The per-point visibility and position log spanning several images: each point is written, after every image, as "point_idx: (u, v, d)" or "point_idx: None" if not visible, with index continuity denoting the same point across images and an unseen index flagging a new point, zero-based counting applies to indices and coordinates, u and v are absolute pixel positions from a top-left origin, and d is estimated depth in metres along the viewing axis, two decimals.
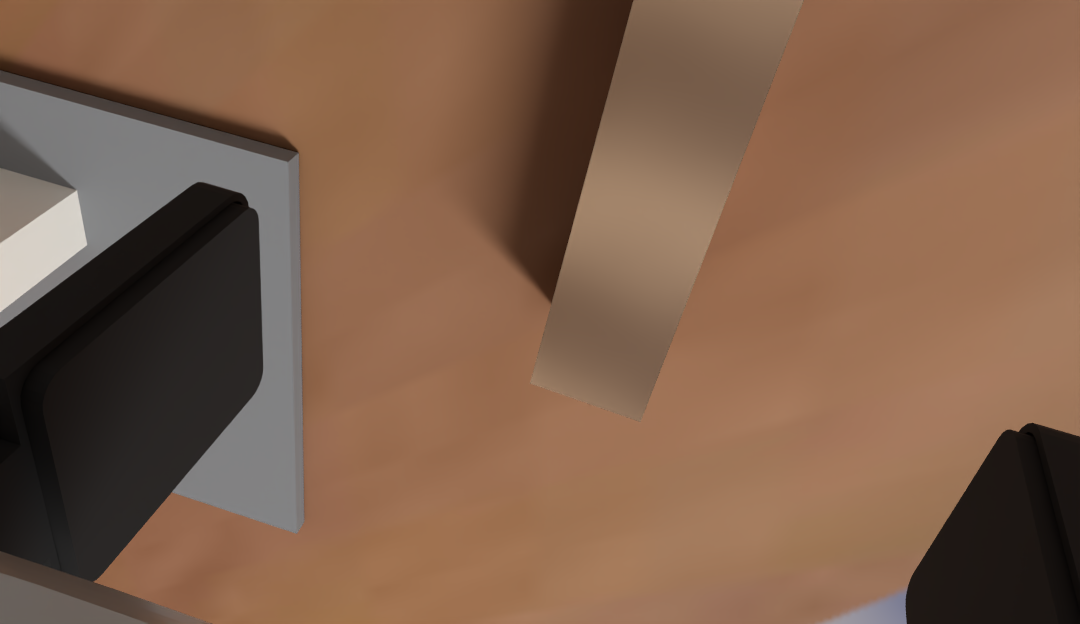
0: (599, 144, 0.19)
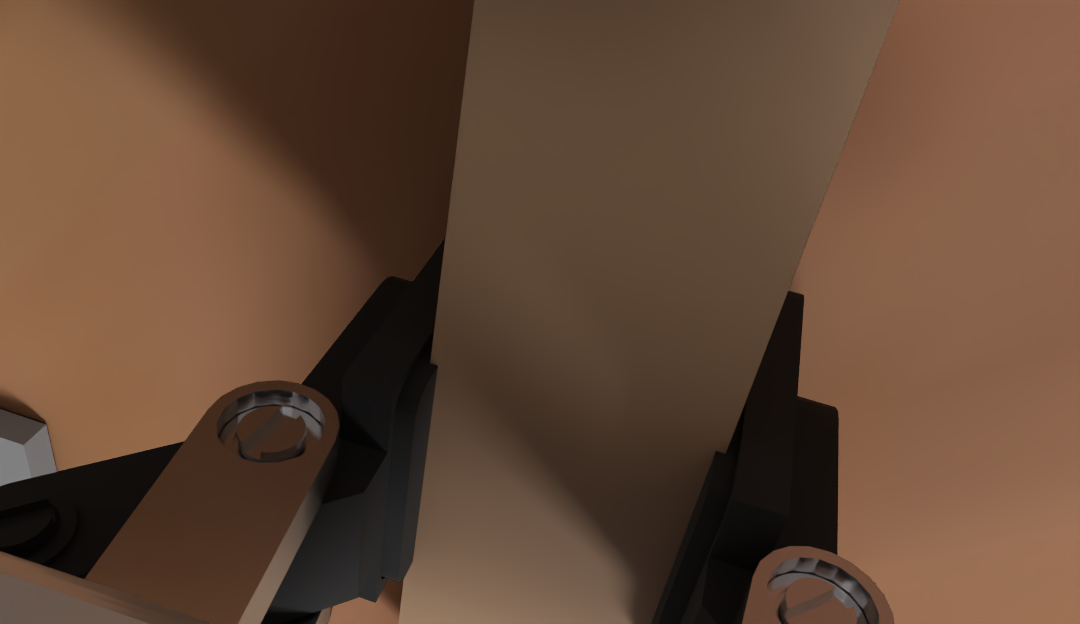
0: (411, 583, 0.11)
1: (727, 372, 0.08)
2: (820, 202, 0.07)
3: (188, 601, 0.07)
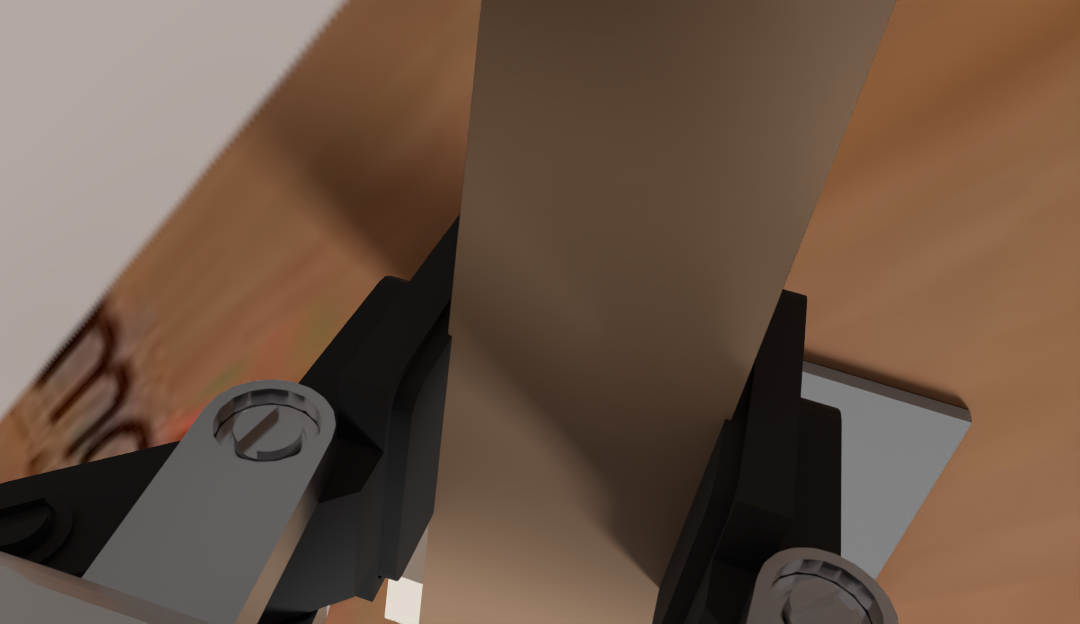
0: (433, 550, 0.12)
1: (721, 370, 0.09)
2: (807, 222, 0.08)
3: (183, 600, 0.07)
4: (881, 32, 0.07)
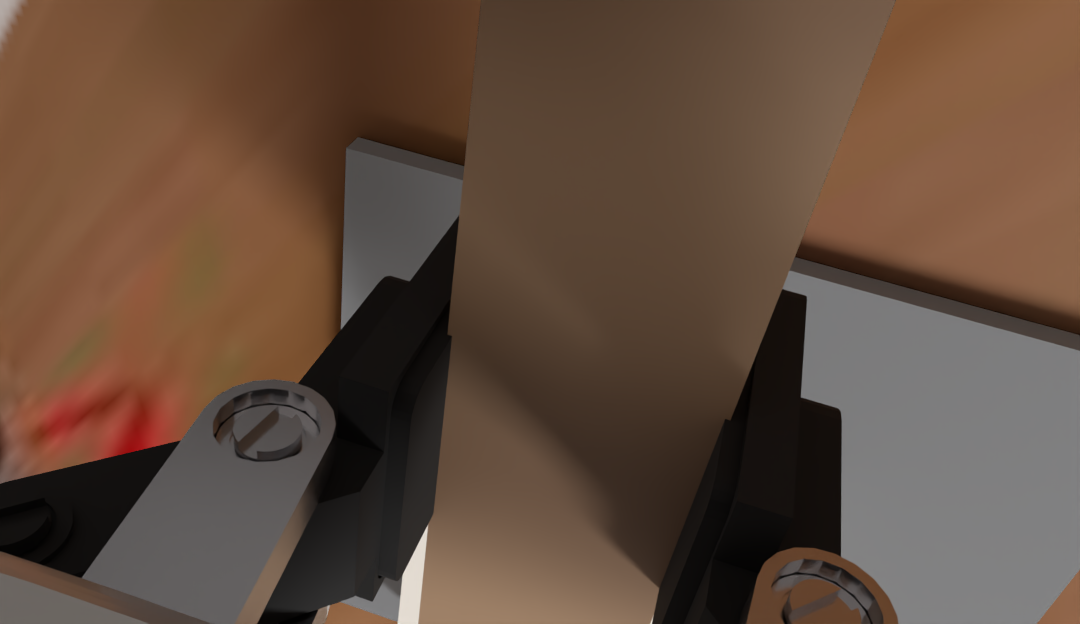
0: (433, 550, 0.12)
1: (720, 370, 0.09)
2: (806, 222, 0.08)
3: (183, 600, 0.07)
4: (881, 32, 0.07)
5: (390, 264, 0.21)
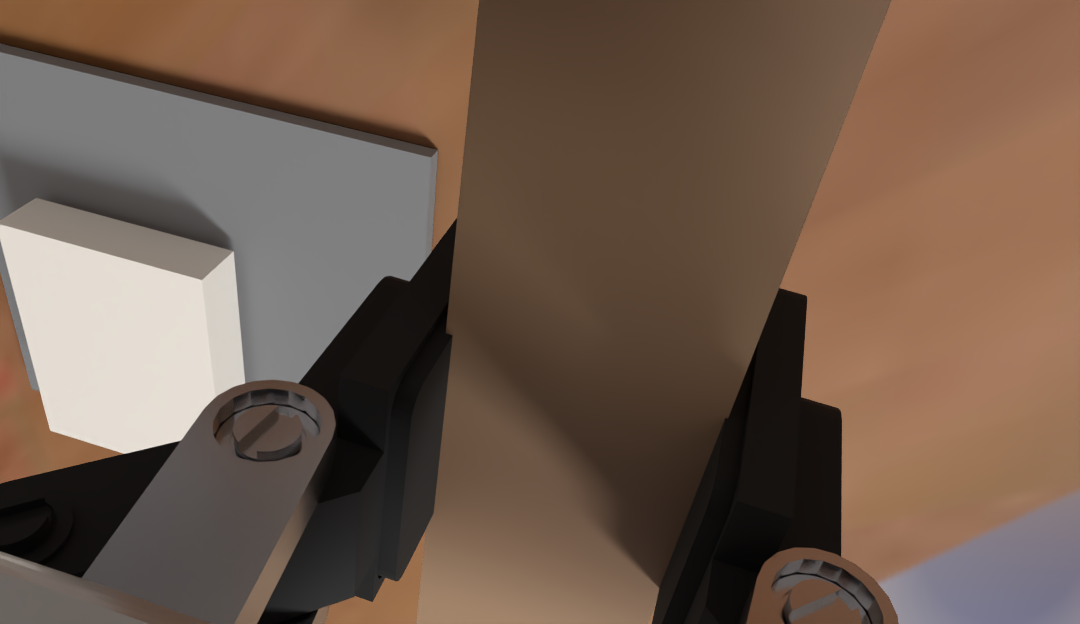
0: (431, 553, 0.12)
1: (716, 375, 0.09)
2: (800, 228, 0.08)
3: (183, 600, 0.07)
4: (874, 40, 0.07)
5: None
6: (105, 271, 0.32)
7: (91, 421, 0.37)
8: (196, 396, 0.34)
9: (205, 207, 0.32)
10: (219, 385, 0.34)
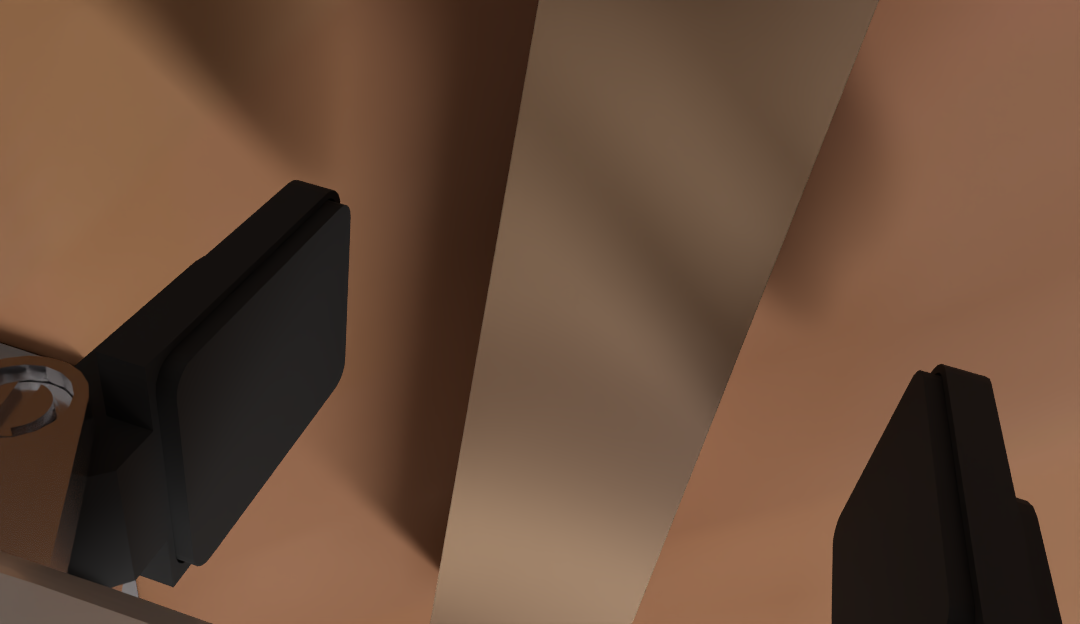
0: (463, 473, 0.13)
1: (742, 280, 0.10)
2: (824, 135, 0.09)
3: None
4: None
5: None
6: None
7: None
8: None
9: None
10: None
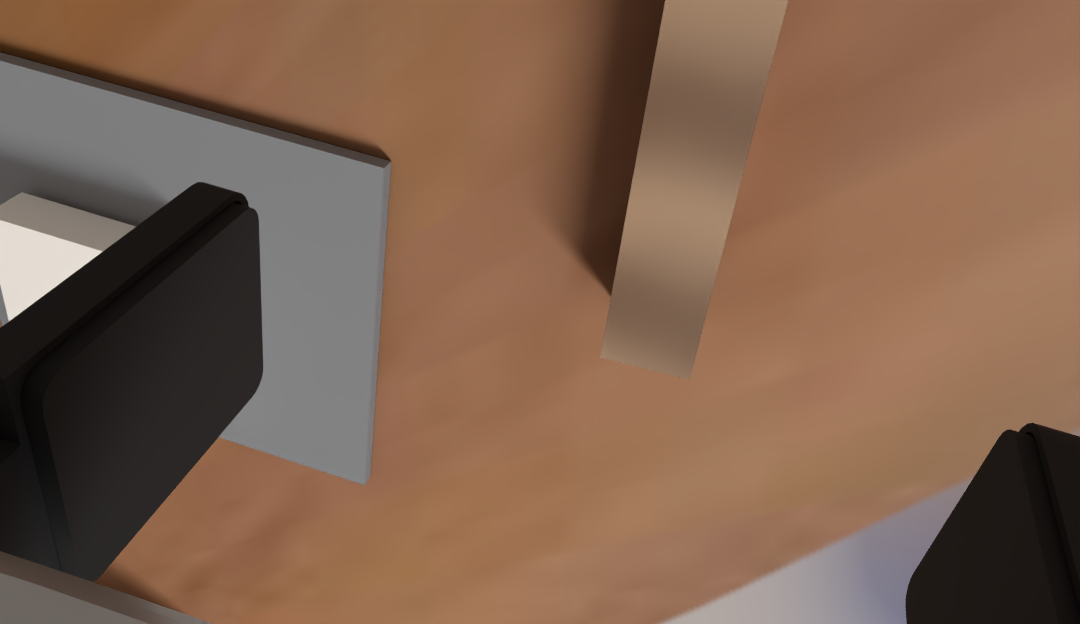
0: (638, 164, 0.26)
1: (768, 34, 0.23)
2: None
3: None
4: None
5: None
6: (84, 262, 0.35)
7: None
8: None
9: None
10: None
